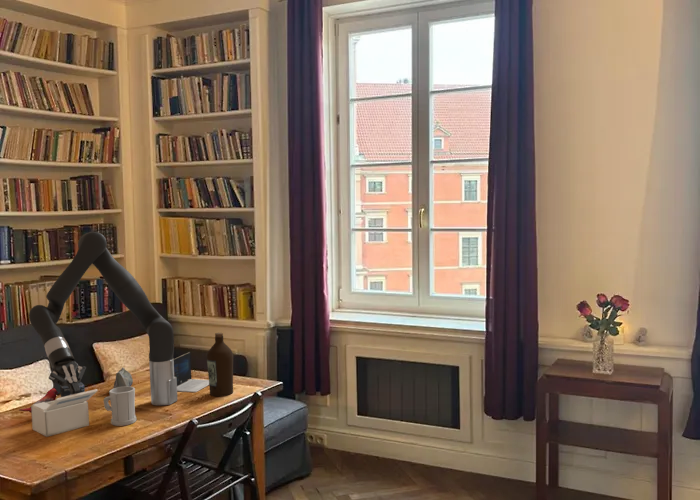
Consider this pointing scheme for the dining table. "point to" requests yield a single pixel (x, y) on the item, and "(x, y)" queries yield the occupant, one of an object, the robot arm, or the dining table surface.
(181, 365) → the laptop
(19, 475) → the dining table surface
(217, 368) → the brown bottle
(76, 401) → the flap
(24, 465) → the dining table surface
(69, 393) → the box
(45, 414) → the carton
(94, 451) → the dining table surface
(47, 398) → the decorative bird figurine
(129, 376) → the mineral rock
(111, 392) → the cup
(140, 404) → the dining table surface
